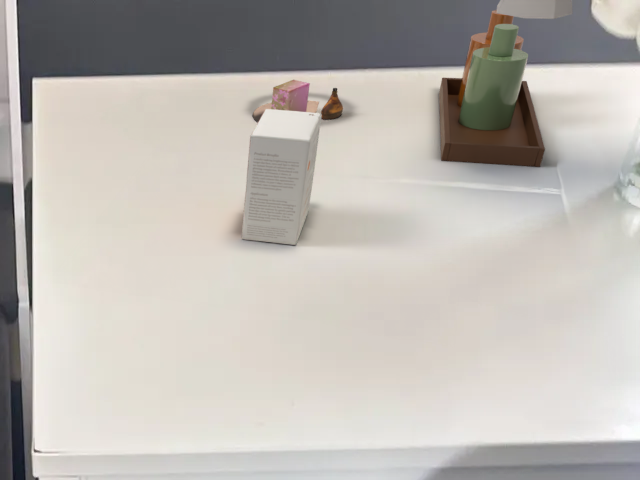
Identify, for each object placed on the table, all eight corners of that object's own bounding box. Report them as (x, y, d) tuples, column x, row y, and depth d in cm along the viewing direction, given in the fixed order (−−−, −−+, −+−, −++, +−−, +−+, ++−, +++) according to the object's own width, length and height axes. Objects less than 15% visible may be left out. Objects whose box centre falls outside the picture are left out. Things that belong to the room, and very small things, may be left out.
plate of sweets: (311, 138, 116) (316, 100, 113) (233, 117, 123) (236, 82, 120) (366, 113, 122) (372, 77, 119) (289, 95, 129) (293, 61, 127)
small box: (255, 208, 100) (264, 107, 94) (309, 214, 98) (323, 111, 92) (239, 240, 94) (248, 134, 88) (296, 246, 92) (310, 139, 86)
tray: (521, 101, 123) (526, 80, 122) (538, 172, 104) (545, 148, 103) (438, 97, 126) (442, 77, 124) (440, 165, 107) (444, 142, 106)
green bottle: (509, 115, 117) (533, 20, 111) (512, 132, 113) (537, 33, 106) (457, 113, 119) (477, 19, 112) (458, 129, 114) (480, 32, 108)
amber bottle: (505, 98, 123) (528, 6, 116) (508, 113, 118) (532, 18, 112) (456, 96, 124) (475, 5, 118) (457, 110, 120) (477, 17, 113)
